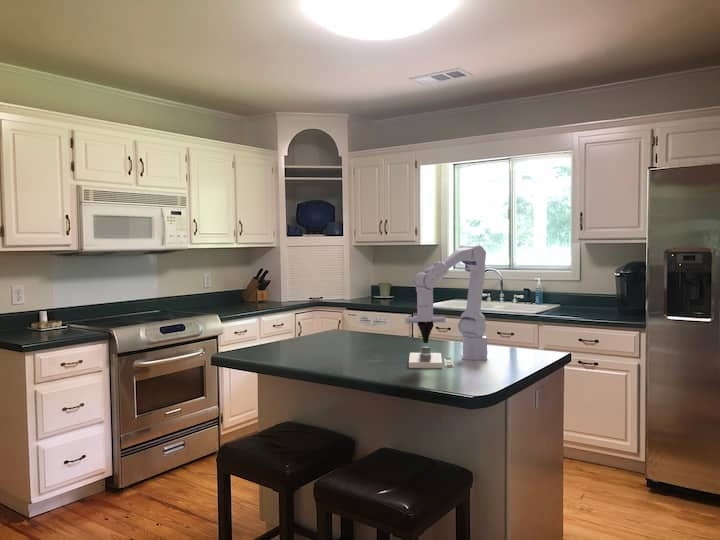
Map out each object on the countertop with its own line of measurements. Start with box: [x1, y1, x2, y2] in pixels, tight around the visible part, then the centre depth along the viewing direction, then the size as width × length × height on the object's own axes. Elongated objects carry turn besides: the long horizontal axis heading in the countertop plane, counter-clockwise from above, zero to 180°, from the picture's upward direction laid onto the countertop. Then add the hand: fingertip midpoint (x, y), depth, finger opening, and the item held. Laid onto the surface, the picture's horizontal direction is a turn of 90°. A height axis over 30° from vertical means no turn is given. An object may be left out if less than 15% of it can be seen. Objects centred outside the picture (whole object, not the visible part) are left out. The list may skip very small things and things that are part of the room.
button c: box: [420, 354, 431, 362], centre depth 213 cm, size 4×4×4 cm
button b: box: [419, 345, 432, 354], centre depth 219 cm, size 4×4×4 cm
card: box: [443, 357, 455, 368], centre depth 219 cm, size 3×14×1 cm, turn 173°
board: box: [408, 352, 443, 369], centre depth 219 cm, size 12×18×2 cm, turn 174°
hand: (425, 342), depth 213 cm, fingers closed
